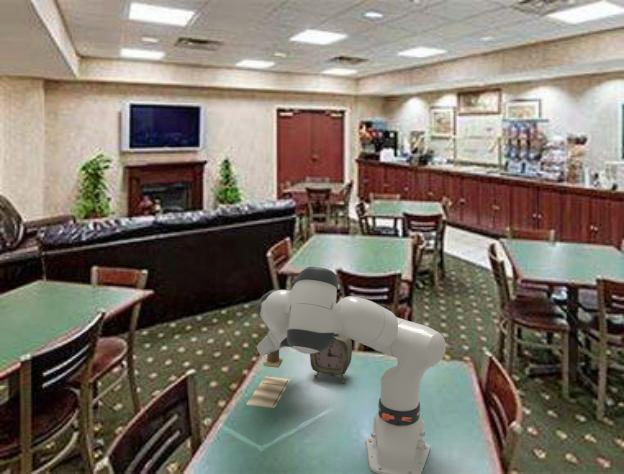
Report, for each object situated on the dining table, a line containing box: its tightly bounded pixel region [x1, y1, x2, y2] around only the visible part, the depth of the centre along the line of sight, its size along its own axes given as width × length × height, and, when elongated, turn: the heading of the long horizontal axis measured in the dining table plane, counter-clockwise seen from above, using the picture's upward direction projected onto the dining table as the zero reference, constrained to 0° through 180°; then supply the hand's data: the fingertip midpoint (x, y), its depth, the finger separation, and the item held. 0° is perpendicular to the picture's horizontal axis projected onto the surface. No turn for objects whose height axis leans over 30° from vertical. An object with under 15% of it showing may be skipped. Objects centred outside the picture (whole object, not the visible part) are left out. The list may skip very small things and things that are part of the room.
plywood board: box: [245, 375, 292, 409], centre depth 185 cm, size 22×10×2 cm, turn 168°
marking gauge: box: [263, 350, 284, 369], centre depth 188 cm, size 6×6×9 cm
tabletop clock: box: [309, 334, 353, 384], centre depth 197 cm, size 14×9×25 cm, turn 73°
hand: (272, 350), depth 188 cm, fingers closed on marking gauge, 3 cm apart
